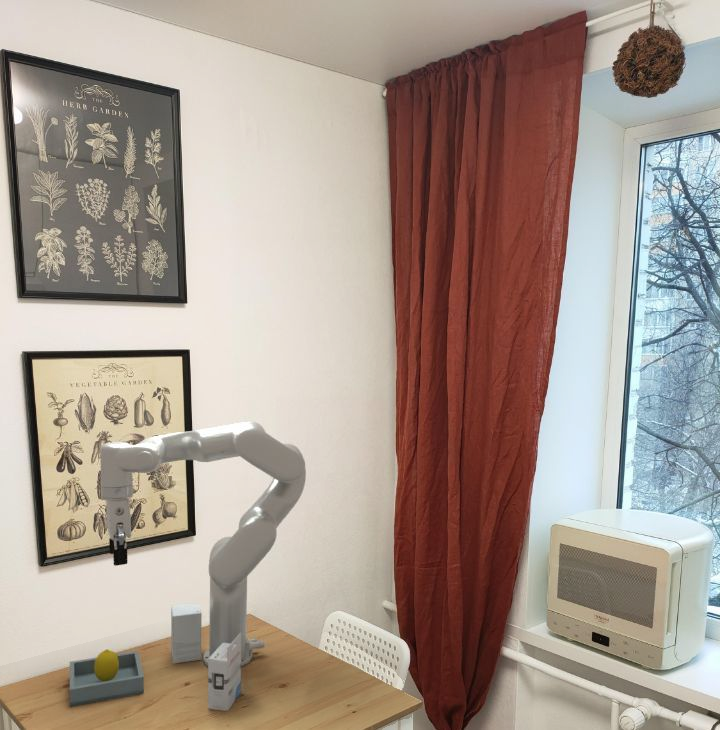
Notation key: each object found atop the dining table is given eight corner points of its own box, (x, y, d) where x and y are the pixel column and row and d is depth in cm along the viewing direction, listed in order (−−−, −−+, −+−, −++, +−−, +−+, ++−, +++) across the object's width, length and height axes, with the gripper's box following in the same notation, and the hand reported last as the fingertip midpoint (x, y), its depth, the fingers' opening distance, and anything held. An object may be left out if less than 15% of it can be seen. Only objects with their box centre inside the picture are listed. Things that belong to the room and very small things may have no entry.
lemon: (95, 690, 158) (95, 656, 158) (93, 679, 163) (93, 647, 163) (120, 685, 161) (120, 652, 161) (117, 674, 166) (117, 642, 166)
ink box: (222, 690, 161) (222, 629, 161) (241, 692, 160) (242, 631, 160) (207, 709, 153) (207, 645, 152) (227, 712, 152) (228, 647, 151)
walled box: (138, 666, 172) (138, 650, 172) (143, 693, 159) (143, 676, 159) (69, 677, 166) (69, 661, 165) (69, 706, 153) (69, 689, 153)
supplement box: (198, 647, 183) (199, 601, 182) (201, 660, 176) (202, 612, 175) (170, 651, 180) (170, 604, 180) (172, 664, 173) (172, 615, 173)
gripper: (137, 497, 164) (138, 567, 165) (128, 483, 180) (129, 547, 181) (104, 500, 161) (105, 571, 162) (98, 486, 176) (99, 551, 177)
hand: (118, 558), depth 171 cm, fingers open, 9 cm apart
